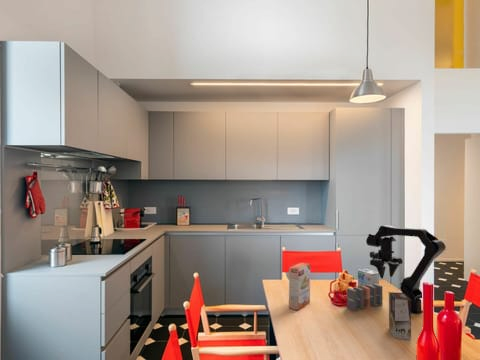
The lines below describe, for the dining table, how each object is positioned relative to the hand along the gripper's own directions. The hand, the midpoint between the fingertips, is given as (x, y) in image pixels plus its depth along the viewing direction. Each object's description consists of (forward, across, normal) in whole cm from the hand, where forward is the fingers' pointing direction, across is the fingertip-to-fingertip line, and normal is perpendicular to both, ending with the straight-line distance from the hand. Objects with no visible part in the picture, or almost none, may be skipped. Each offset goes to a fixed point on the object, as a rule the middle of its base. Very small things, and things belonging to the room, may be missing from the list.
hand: (386, 277), depth 166 cm
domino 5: (+13, +7, 0) cm, 15 cm away
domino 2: (+13, +20, 0) cm, 24 cm away
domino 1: (+13, +25, 0) cm, 28 cm away
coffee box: (+13, +26, +28) cm, 40 cm away
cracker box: (+13, +46, -15) cm, 50 cm away
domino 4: (+13, +11, 0) cm, 17 cm away
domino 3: (+13, +16, 0) cm, 20 cm away
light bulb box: (+13, -8, -20) cm, 25 cm away
